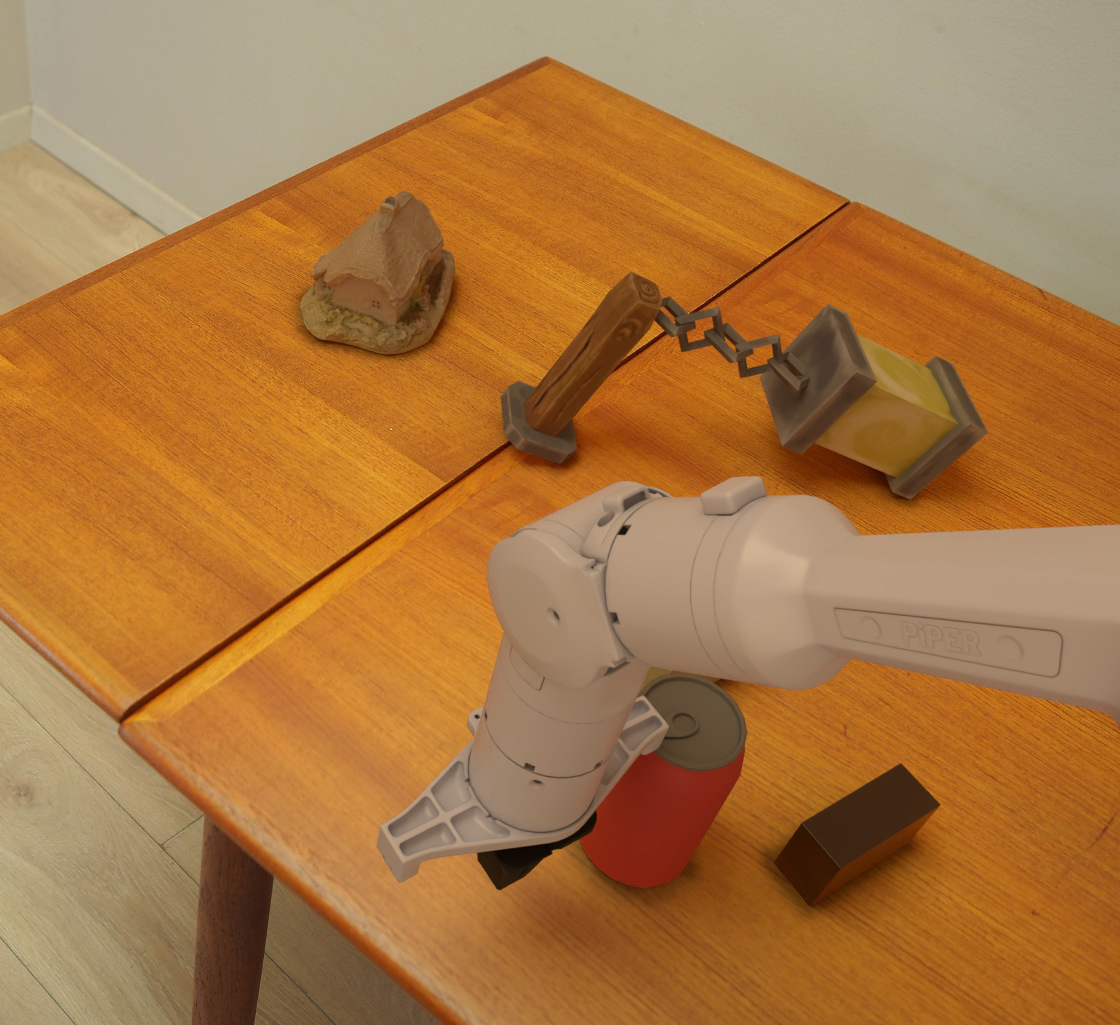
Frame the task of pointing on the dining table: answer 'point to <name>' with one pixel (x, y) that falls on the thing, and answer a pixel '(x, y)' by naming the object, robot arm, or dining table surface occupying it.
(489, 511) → the dining table surface
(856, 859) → the walnut block
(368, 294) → the ceramic model
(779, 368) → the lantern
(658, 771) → the beer can
